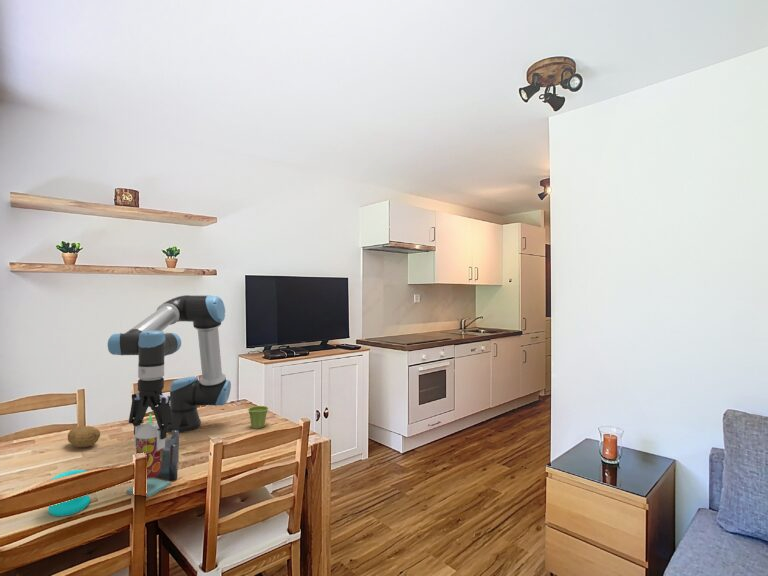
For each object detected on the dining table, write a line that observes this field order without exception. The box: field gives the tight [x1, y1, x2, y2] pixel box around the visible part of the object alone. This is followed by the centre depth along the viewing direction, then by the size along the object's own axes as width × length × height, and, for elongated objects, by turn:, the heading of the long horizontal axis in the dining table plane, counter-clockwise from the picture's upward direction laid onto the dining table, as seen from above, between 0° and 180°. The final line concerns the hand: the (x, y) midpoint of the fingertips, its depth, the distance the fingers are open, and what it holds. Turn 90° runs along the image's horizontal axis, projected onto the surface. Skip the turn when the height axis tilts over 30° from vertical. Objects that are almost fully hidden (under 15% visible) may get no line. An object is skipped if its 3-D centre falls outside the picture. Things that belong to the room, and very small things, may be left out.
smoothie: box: [134, 413, 163, 479], centre depth 135 cm, size 8×8×20 cm
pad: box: [126, 477, 172, 498], centre depth 135 cm, size 9×9×1 cm
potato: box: [67, 425, 101, 448], centre depth 169 cm, size 10×14×8 cm
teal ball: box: [47, 469, 91, 517], centre depth 122 cm, size 10×10×10 cm
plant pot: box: [247, 405, 269, 430], centre depth 197 cm, size 9×9×9 cm
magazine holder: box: [154, 430, 180, 482], centre depth 149 cm, size 13×14×12 cm
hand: (149, 446), depth 135 cm, fingers closed on smoothie, 8 cm apart
